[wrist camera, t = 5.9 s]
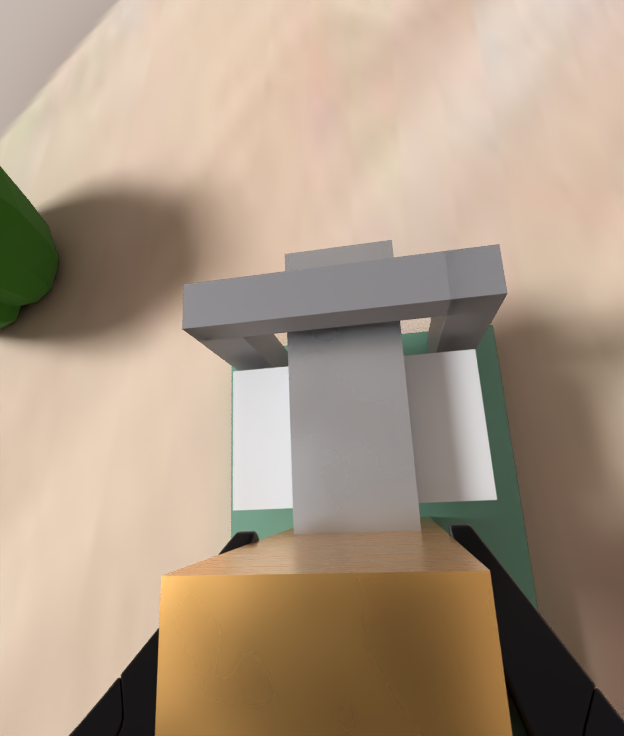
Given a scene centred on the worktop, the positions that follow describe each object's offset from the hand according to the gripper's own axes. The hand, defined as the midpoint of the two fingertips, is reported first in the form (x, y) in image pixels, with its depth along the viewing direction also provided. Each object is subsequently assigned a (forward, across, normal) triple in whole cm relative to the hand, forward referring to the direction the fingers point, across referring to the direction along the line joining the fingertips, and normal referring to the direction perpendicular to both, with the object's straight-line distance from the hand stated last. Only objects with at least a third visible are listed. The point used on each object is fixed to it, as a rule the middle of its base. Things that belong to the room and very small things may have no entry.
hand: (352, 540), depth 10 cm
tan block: (+6, 0, +3) cm, 7 cm away
